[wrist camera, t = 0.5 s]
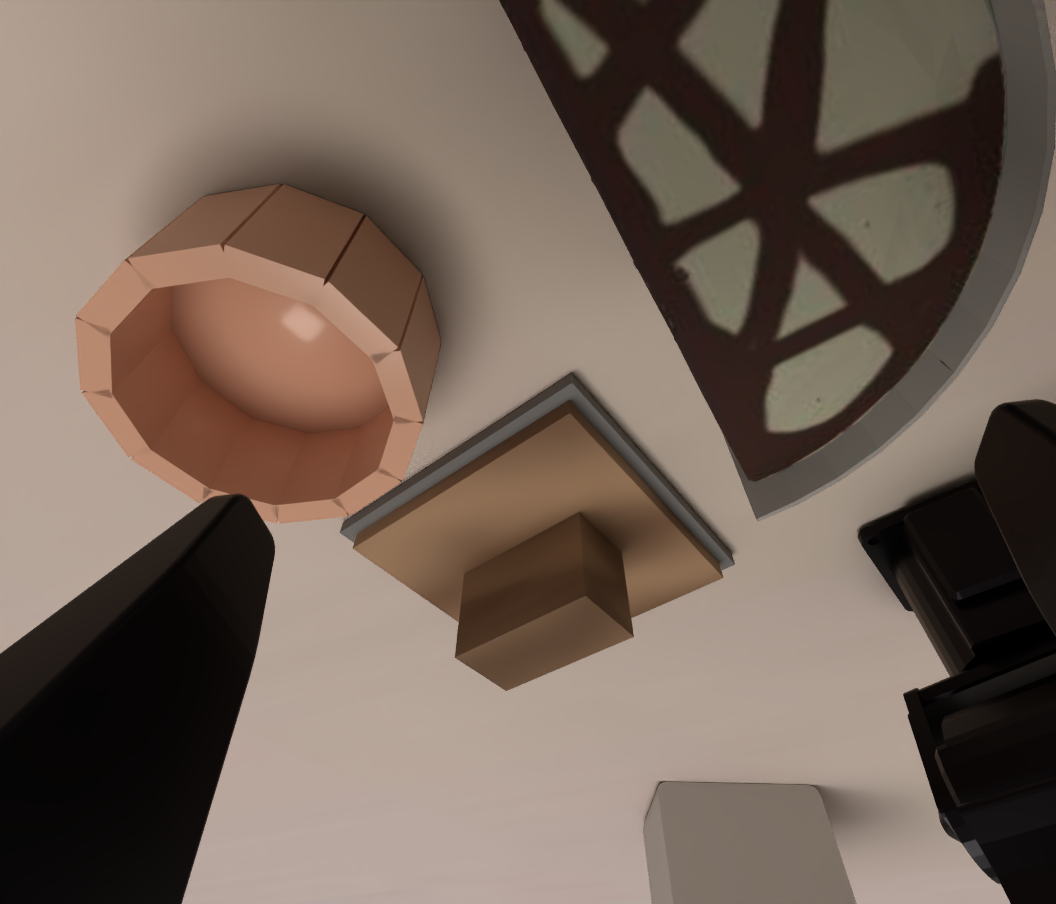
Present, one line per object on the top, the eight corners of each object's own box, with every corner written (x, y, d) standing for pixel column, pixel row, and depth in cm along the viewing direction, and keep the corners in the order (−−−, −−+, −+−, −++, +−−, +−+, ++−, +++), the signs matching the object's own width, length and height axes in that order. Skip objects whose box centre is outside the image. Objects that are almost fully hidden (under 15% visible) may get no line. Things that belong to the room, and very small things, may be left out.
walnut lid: (719, 563, 28) (747, 661, 24) (522, 652, 32) (520, 746, 28) (569, 399, 22) (575, 494, 18) (356, 534, 27) (328, 632, 23)
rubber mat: (731, 553, 28) (734, 564, 28) (521, 649, 33) (520, 659, 32) (571, 373, 22) (572, 382, 22) (343, 522, 27) (339, 532, 26)
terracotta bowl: (491, 347, 21) (483, 428, 18) (319, 471, 25) (285, 558, 22) (273, 117, 17) (206, 166, 14) (102, 308, 21) (14, 384, 17)
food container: (875, 210, 19) (1119, 411, 11) (678, 309, 21) (765, 537, 13) (729, -363, 12) (1095, -908, 4) (459, -131, 14) (367, -205, 6)
